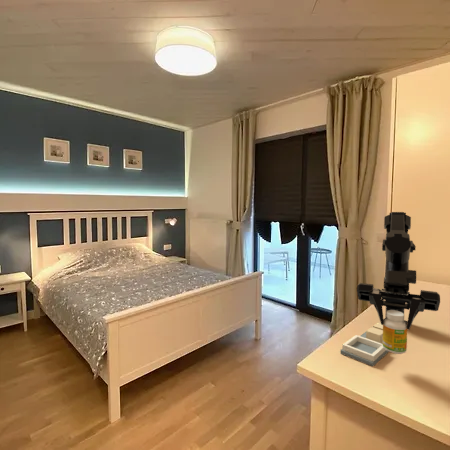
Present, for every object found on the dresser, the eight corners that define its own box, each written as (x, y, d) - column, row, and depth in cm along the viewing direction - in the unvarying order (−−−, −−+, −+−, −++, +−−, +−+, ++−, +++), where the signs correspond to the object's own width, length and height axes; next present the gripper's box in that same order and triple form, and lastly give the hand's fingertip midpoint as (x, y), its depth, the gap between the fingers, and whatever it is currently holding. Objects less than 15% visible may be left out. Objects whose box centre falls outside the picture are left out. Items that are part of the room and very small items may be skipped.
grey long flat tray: (372, 329, 97) (372, 318, 97) (402, 338, 90) (402, 326, 90) (340, 353, 83) (340, 340, 82) (372, 366, 76) (373, 352, 76)
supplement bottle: (394, 356, 71) (395, 318, 70) (377, 345, 76) (378, 310, 75) (411, 352, 73) (413, 315, 72) (394, 342, 78) (394, 307, 77)
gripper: (358, 254, 80) (352, 306, 72) (441, 260, 71) (445, 320, 62) (361, 275, 88) (355, 323, 80) (436, 283, 78) (439, 339, 70)
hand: (394, 326), depth 73 cm, fingers closed on supplement bottle, 5 cm apart
